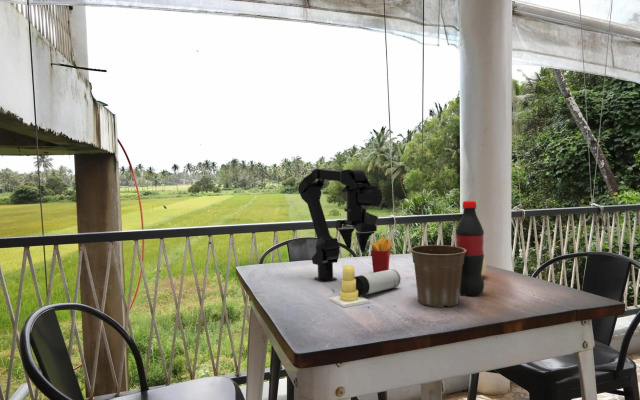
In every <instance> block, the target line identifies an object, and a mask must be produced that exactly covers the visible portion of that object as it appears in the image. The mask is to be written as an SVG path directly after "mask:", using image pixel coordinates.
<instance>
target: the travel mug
mask: <svg viewBox="0 0 640 400" xmlns="http://www.w3.org/2000/svg"><path fill="white" fill-rule="evenodd" d="M355 279H356V290H358V296H361V297H363V296H366V295H371V294H374V293H378V292H383V291H386V290H390V289H393V288H394V289H395V288H397V287H399V285H400V284H401V275H400V273H399V271H397V270H396V269H391V268H389V270H385V271H380V272H375V273H373V272H371V273H370V272H369V273H366V274H365V273H364V274H360V275H357V276H355Z"/></svg>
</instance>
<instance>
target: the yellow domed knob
mask: <svg viewBox="0 0 640 400" xmlns="http://www.w3.org/2000/svg"><path fill="white" fill-rule="evenodd" d="M355 277H356V276H355V266H354V265H342V278H341V289H340V290H339V296H340V300H342V301H356V300H358V290H356V279H355Z"/></svg>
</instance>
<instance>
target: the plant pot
mask: <svg viewBox="0 0 640 400" xmlns="http://www.w3.org/2000/svg"><path fill="white" fill-rule="evenodd" d="M410 253H411V257H412V263H413V264H414V272H415V273H414V274H415V281H416V292H417V301H418V302H419V303H420V304H422V305H424V306H427V307H432V308H434V307H435V308H443V307H445V306H446V307H448V308H450V307H451V308H452V307H456V306H457V305H458V304H460V302H461V301H460V300H461V298H460V297H461V293H460V288H461V276H462V265H463V264H464V255H465V253H466V249H464V248H461V247H456V245H447V244H445V245H444V244H443V245H441V244H428V245H427V244H425V245H415V246H414V247H411V248H410Z"/></svg>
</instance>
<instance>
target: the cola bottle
mask: <svg viewBox="0 0 640 400" xmlns="http://www.w3.org/2000/svg"><path fill="white" fill-rule="evenodd" d="M462 209H463V211H462V216H461V218H460V220H459V222H458V223H457V226H456V230H455V236H456V241H455V243H456V245H455V246H456V247H461V248H464V249H466V253H465V255H464V264H463V265H462V276H461V288H460V295H463V296H469V297H475V296H479V295H482V293H483V292H484V288H485V281H484V279H483V275H482V274H481V272H482V266H483V259H485V258H484V257H485V256H484V255H485V254H484V235H485V233H484V228H483V226H482V223H481V222H480V220H479V218H478V216H477V212H476V209H477V201H475V200H463V202H462Z"/></svg>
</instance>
